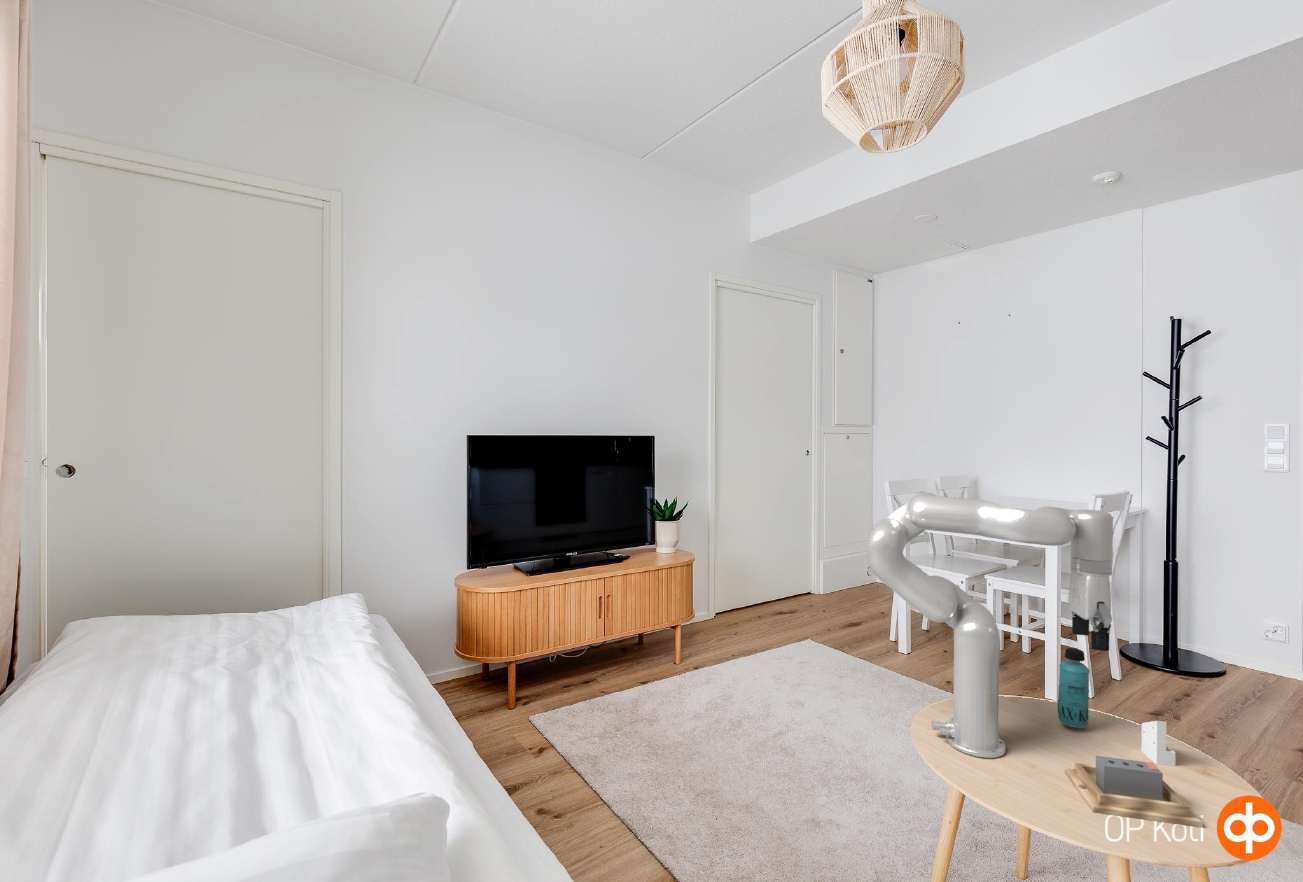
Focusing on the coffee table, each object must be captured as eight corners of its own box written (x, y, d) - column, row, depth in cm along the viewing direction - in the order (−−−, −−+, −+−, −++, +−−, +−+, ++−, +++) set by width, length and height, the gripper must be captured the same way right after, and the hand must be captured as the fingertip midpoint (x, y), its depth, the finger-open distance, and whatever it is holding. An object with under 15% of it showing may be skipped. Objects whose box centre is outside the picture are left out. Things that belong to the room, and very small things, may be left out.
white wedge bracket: (1169, 764, 132) (1157, 720, 136) (1144, 765, 140) (1134, 723, 145) (1188, 766, 131) (1175, 722, 135) (1162, 766, 140) (1151, 725, 144)
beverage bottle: (1052, 720, 156) (1053, 644, 156) (1080, 722, 155) (1081, 645, 155) (1065, 733, 150) (1067, 653, 149) (1095, 735, 149) (1096, 655, 148)
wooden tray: (1093, 812, 120) (1093, 797, 119) (1064, 772, 133) (1064, 759, 133) (1202, 827, 115) (1202, 811, 115) (1161, 784, 128) (1161, 771, 128)
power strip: (1103, 794, 124) (1104, 764, 123) (1095, 783, 127) (1095, 754, 127) (1162, 803, 121) (1162, 772, 121) (1151, 791, 125) (1152, 761, 124)
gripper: (1056, 556, 144) (1055, 628, 144) (1088, 574, 127) (1087, 654, 127) (1093, 558, 142) (1091, 630, 142) (1130, 576, 125) (1129, 658, 125)
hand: (1089, 641), depth 135 cm, fingers open, 9 cm apart
